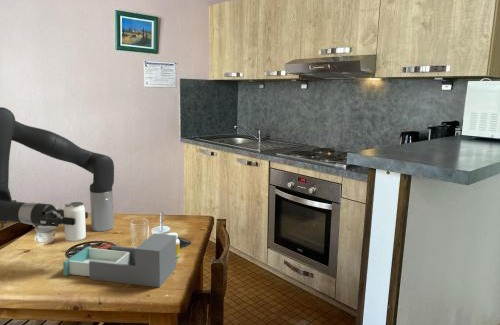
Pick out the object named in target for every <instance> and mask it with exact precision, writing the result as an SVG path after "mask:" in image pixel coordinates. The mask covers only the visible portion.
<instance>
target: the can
mask: <svg viewBox="0 0 500 325" xmlns="http://www.w3.org/2000/svg"><path fill="white" fill-rule="evenodd" d="M85 212H86V208H85V206H84V203H83V202H81V201H74V202H73V201H70V202H67V203H65V204H64V218H65V217H67V218H75V225H66V224H64V225H63V226H64V239H65V240H66V241H68V242H79V241H83V240H84V239H86V236H87V235H86V234H87V233H86V219H85Z"/></svg>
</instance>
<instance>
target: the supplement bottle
mask: <svg viewBox="0 0 500 325" xmlns="http://www.w3.org/2000/svg"><path fill="white" fill-rule="evenodd" d="M166 234H167V235H176V262H177V261H179V260H180V258H181V257H180V255H181V254H180V251H181V249H180V241H179V239H177V238H178V237H179V233H177V232H169V233H166Z"/></svg>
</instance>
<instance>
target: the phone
mask: <svg viewBox="0 0 500 325" xmlns="http://www.w3.org/2000/svg"><path fill="white" fill-rule="evenodd" d="M177 239H179V241H180V250H181V249H183V248H186V247H188V246H191V245H192V241H191V240H186V239H184V238H181V237H179V236H178V238H177Z"/></svg>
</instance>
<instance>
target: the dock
mask: <svg viewBox="0 0 500 325" xmlns="http://www.w3.org/2000/svg"><path fill="white" fill-rule="evenodd" d="M166 234H167V233H166ZM166 234H163V233H153V234H151V235H150V236H149V237H148V238H146V239H145V240H144V241H143V242H142V243H141V244H139V245H138V246H137V247H130V246H123V245H122V246H121V245H111V246H110V250H116V251H126V252H130V265H126V264H117V263H107V262H98V261H89V273H90V276H89V280H95V281H103V282H104V281H105V282H112V283H121V284H129V285H137V286H138V285H139V286H145V287H146V286H147V287H153V288H161V286H162V285H163V284H164V283H165V282H166V281H167V279H168V278H169V277H170V276H171V274H173V272H174V271H175V270H176V269H177V261H176V235H166Z"/></svg>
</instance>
